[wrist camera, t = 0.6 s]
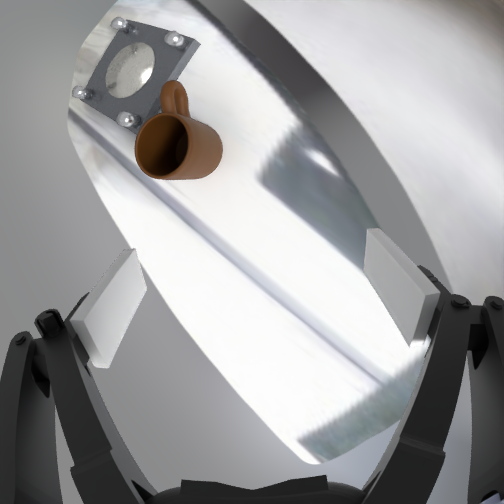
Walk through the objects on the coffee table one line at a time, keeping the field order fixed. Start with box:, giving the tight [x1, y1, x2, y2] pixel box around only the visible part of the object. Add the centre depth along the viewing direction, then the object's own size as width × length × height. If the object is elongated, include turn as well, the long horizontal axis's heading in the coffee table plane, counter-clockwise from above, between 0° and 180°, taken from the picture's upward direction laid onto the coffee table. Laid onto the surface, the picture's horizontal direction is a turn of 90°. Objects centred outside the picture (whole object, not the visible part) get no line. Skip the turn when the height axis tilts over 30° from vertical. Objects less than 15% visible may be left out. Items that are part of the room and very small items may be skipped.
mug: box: [135, 80, 223, 180], centre depth 32 cm, size 12×8×9 cm, turn 0°
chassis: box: [72, 17, 201, 135], centre depth 34 cm, size 16×16×5 cm
